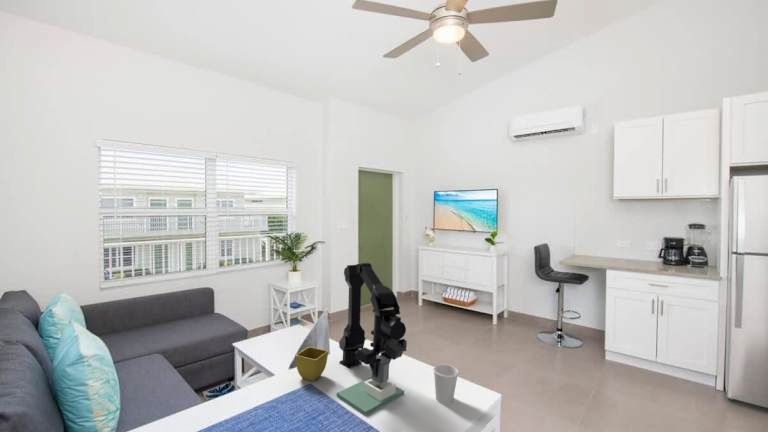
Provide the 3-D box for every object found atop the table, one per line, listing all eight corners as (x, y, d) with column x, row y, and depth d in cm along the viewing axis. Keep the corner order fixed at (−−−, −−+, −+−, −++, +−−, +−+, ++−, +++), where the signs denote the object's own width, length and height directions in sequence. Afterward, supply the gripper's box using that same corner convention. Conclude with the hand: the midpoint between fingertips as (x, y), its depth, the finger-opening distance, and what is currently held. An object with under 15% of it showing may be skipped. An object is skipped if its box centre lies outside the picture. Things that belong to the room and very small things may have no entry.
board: (336, 396, 114) (336, 383, 114) (375, 378, 127) (375, 367, 127) (365, 415, 104) (366, 402, 104) (403, 394, 117) (404, 382, 117)
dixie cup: (429, 402, 113) (430, 372, 113) (434, 390, 121) (436, 362, 121) (454, 409, 110) (456, 378, 110) (458, 396, 118) (460, 367, 117)
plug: (371, 379, 115) (372, 358, 115) (379, 375, 118) (380, 355, 118) (381, 384, 112) (382, 363, 112) (389, 380, 115) (390, 359, 115)
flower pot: (293, 379, 123) (294, 354, 123) (307, 369, 131) (309, 346, 131) (314, 385, 120) (315, 360, 120) (327, 374, 128) (329, 350, 128)
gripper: (380, 343, 103) (377, 395, 103) (418, 329, 116) (416, 374, 117) (355, 332, 110) (352, 380, 111) (394, 320, 124) (391, 363, 124)
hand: (379, 374), depth 115 cm, fingers closed on plug, 4 cm apart
